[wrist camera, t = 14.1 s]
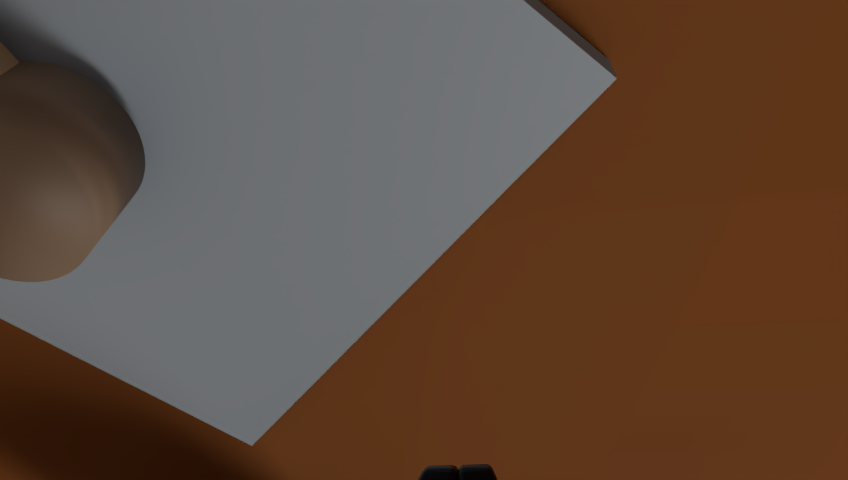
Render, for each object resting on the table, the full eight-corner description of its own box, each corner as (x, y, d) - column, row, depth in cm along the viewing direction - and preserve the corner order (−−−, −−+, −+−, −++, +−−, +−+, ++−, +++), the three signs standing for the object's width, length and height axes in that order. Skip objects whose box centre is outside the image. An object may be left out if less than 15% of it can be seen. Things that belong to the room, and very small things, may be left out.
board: (260, 419, 27) (250, 450, 26) (-335, 110, 21) (-382, 131, 20) (610, 59, 18) (619, 80, 17) (-245, -663, 12) (-323, -706, 11)
